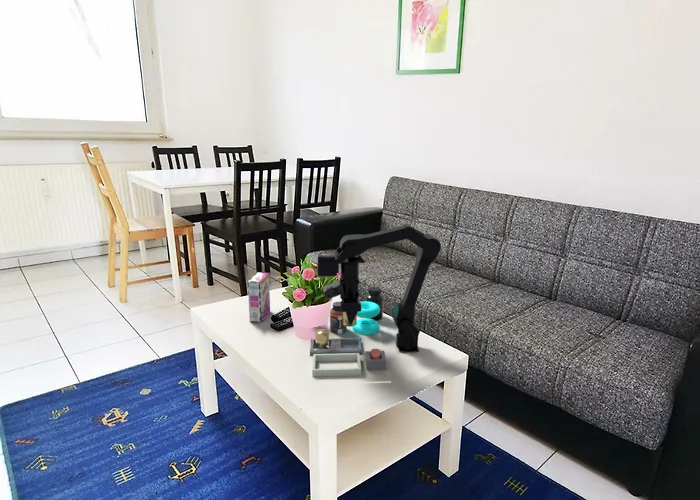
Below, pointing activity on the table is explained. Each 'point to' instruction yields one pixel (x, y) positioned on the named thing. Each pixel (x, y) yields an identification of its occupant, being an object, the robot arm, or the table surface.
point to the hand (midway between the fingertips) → (350, 320)
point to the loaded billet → (322, 339)
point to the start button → (375, 354)
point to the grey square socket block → (375, 361)
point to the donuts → (366, 324)
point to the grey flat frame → (338, 346)
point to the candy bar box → (259, 297)
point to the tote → (337, 370)
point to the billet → (345, 320)
